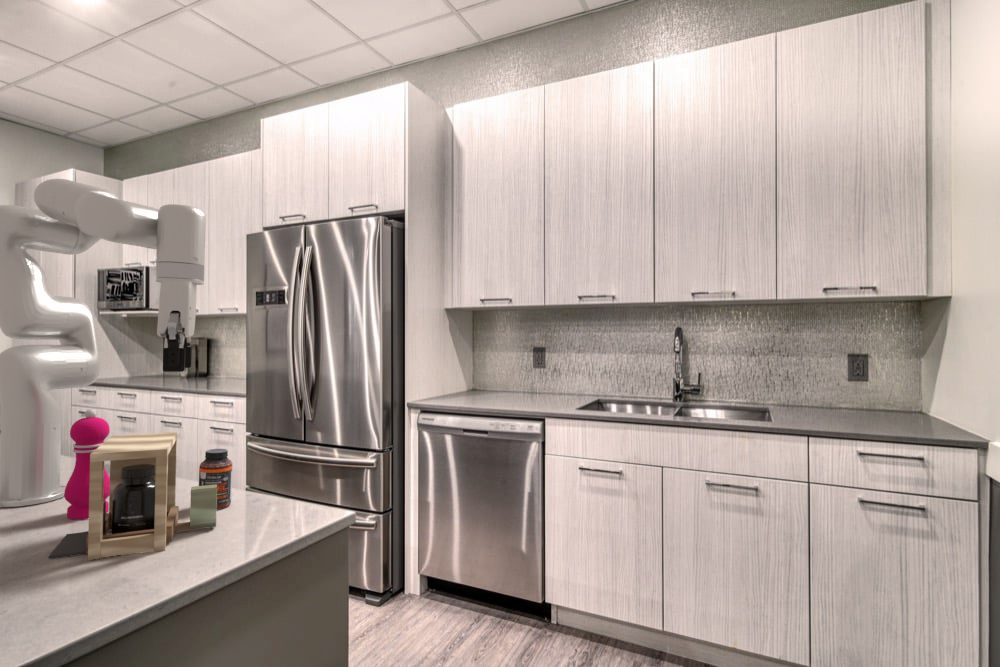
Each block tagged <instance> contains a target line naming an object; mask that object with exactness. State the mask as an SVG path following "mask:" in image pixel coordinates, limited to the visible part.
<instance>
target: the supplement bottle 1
mask: <svg viewBox="0 0 1000 667" xmlns="http://www.w3.org/2000/svg"><path fill="white" fill-rule="evenodd" d="M154 477H155V466H154V465H151V464H137V465H130V466H126V467H123V468H122V469H121V477H120V479H121V480H122V483H120V484H119V485H117V486H116V487H115V489H114V490H113V502H112V524H111V529H110V534H116V533H125V532H133V531H142V530H150V529H154V521H155V480H154V479H153V478H154Z"/></svg>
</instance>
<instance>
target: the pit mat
mask: <svg viewBox="0 0 1000 667" xmlns="http://www.w3.org/2000/svg"><path fill="white" fill-rule="evenodd" d="M87 535H88V531H82V532H75V533H74V532H72V533H67V534H66V535H65V536H64V537H63V538H62V539H61V540H60V542H58V543H57V545H56V546H55V547H54V549H52V551H51V552H50V554H48V558H52V559H57V558H56V557H60V558H64V557H63V556H67V557H72V556H71V555H75V556H78V555H77V554H83V555H86V554H87V553H86V536H87ZM48 558H47V559H48Z"/></svg>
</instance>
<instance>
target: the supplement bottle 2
mask: <svg viewBox="0 0 1000 667" xmlns="http://www.w3.org/2000/svg"><path fill="white" fill-rule="evenodd" d="M228 451H229V450H228V449H227V448H212V449H207V450H205V456H204V460H203V461H202V462H200V464H199V466H198V467H199V468H198V469H199V470H198V471H199V472H198V486H205V485H216V484H217V510H222V508H223V509H225V508H227V507H229V506H230V505H231V503H232V491H233V490H232V489H233V488H232V486H233V485H232V484H233V462H232V460H230V458H228V455H229V454H228Z"/></svg>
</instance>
